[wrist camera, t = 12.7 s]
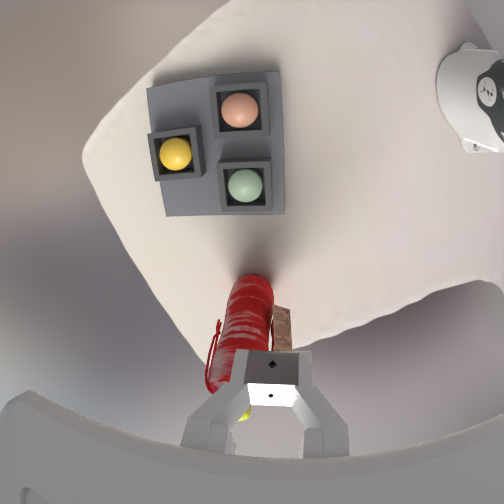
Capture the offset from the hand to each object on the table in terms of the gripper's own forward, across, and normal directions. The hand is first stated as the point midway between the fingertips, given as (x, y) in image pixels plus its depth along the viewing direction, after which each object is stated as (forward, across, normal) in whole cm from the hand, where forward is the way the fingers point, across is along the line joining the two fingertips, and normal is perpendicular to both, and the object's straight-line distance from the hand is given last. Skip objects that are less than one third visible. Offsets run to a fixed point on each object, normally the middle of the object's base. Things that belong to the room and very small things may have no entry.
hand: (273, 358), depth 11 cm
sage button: (+29, +5, +2) cm, 29 cm away
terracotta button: (+29, +5, -8) cm, 30 cm away
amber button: (+29, +14, -3) cm, 32 cm away
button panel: (+31, +9, -3) cm, 32 cm away
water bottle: (+31, +4, +22) cm, 38 cm away
